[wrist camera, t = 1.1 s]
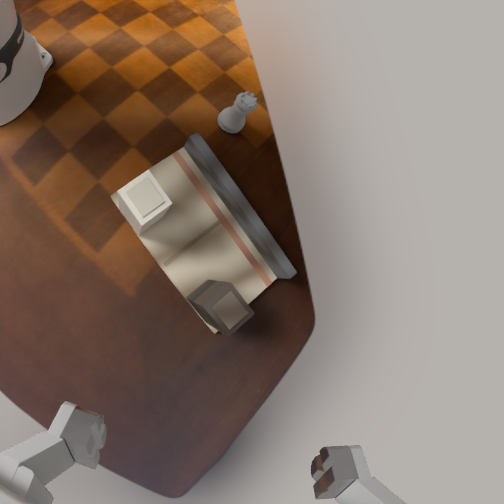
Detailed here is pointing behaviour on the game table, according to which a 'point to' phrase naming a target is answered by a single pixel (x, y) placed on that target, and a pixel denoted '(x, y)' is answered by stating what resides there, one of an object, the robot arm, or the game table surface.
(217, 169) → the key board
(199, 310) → the ebony key
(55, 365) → the game table surface
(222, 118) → the rook chess piece
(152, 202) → the ivory key
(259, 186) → the game table surface
